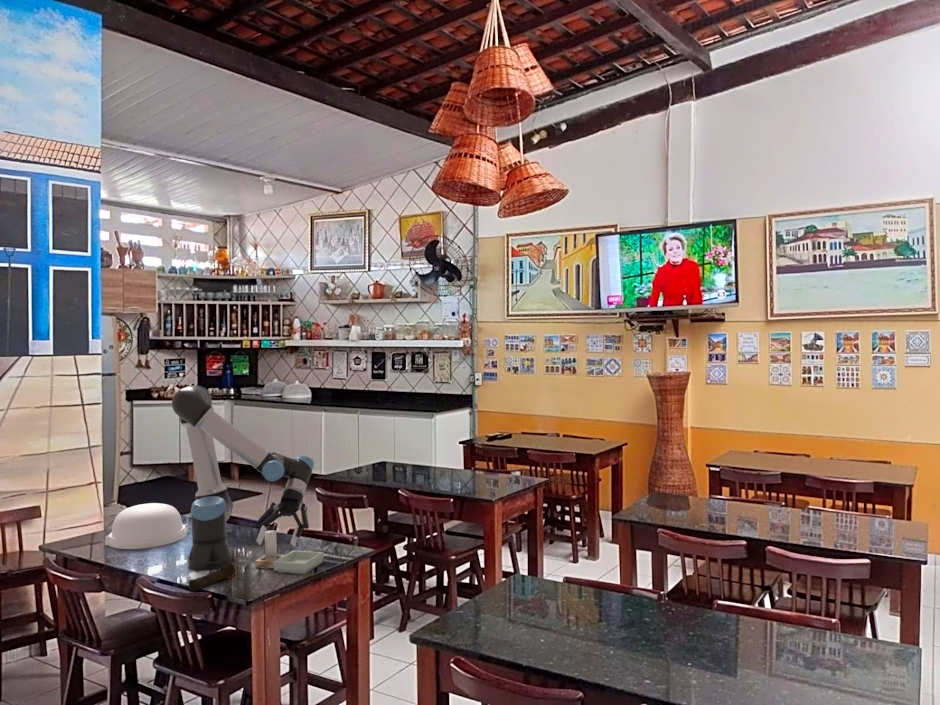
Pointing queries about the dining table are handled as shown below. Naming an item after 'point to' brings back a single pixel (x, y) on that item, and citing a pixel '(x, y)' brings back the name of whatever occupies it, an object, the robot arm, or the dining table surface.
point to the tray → (298, 562)
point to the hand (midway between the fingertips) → (275, 544)
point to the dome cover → (146, 527)
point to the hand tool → (212, 577)
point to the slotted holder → (266, 562)
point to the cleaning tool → (270, 545)
